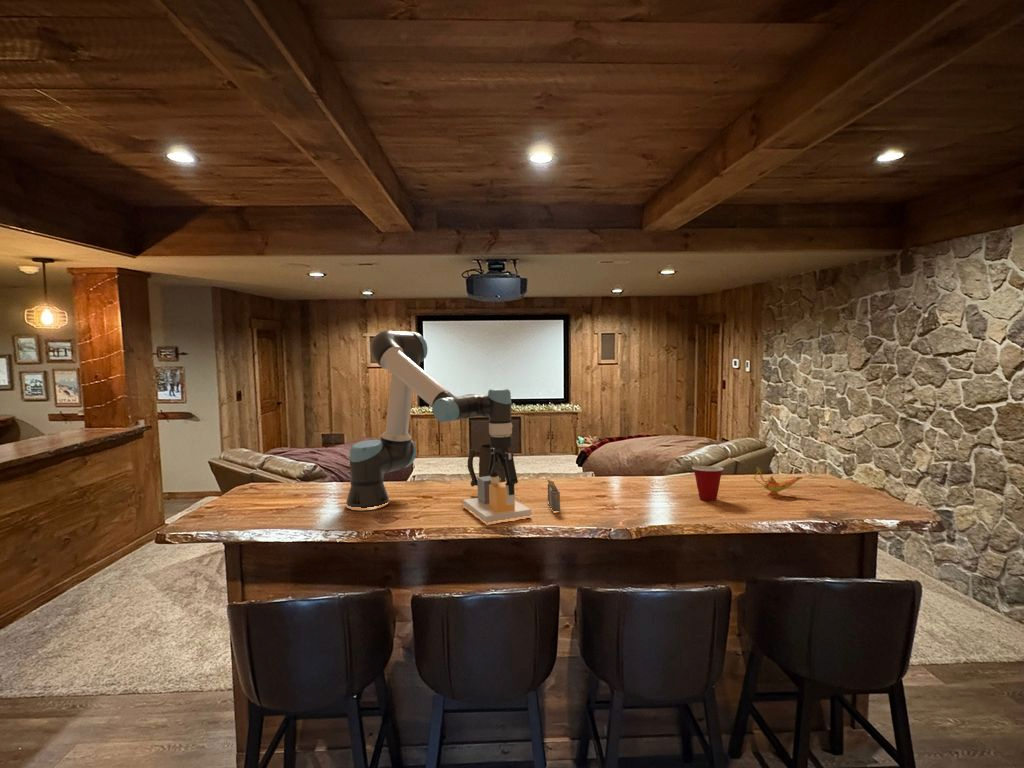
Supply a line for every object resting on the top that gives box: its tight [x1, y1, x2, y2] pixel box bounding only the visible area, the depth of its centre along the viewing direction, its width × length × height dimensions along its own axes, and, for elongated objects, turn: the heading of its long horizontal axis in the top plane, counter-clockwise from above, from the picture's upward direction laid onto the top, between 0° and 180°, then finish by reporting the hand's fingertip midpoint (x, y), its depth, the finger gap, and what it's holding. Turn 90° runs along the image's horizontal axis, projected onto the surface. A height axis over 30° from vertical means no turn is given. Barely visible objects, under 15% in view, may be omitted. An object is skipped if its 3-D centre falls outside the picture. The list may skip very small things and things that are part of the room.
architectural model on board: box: [546, 478, 561, 512], centre depth 181 cm, size 11×3×10 cm, turn 4°
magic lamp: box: [753, 466, 803, 499], centre depth 191 cm, size 7×18×11 cm, turn 89°
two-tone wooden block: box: [489, 482, 515, 513], centre depth 171 cm, size 6×6×8 cm
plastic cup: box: [691, 465, 724, 502], centre depth 188 cm, size 11×11×12 cm
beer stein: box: [467, 443, 506, 487], centre depth 200 cm, size 15×11×20 cm
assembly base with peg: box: [462, 476, 532, 523], centre depth 177 cm, size 22×16×11 cm
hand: (502, 500), depth 171 cm, fingers open, 12 cm apart
